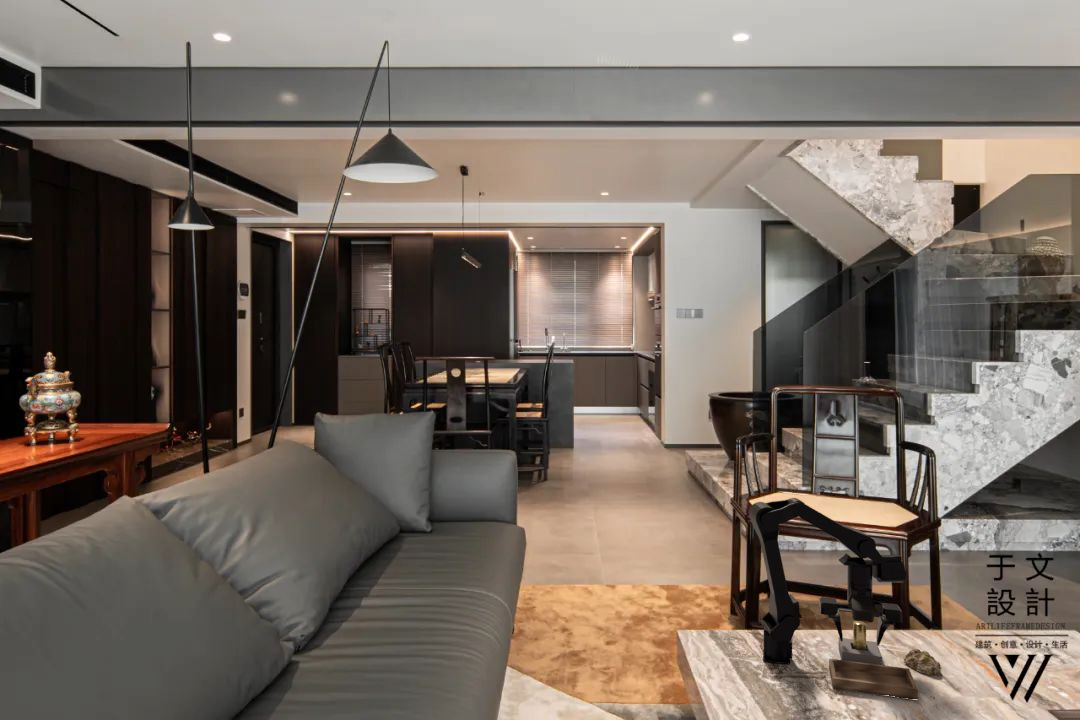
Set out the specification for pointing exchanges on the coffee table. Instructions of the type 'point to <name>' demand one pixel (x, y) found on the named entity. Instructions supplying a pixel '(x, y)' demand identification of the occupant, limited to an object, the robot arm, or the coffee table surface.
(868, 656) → the block
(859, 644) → the brass pin
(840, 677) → the walnut tray
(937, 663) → the mineral rock
